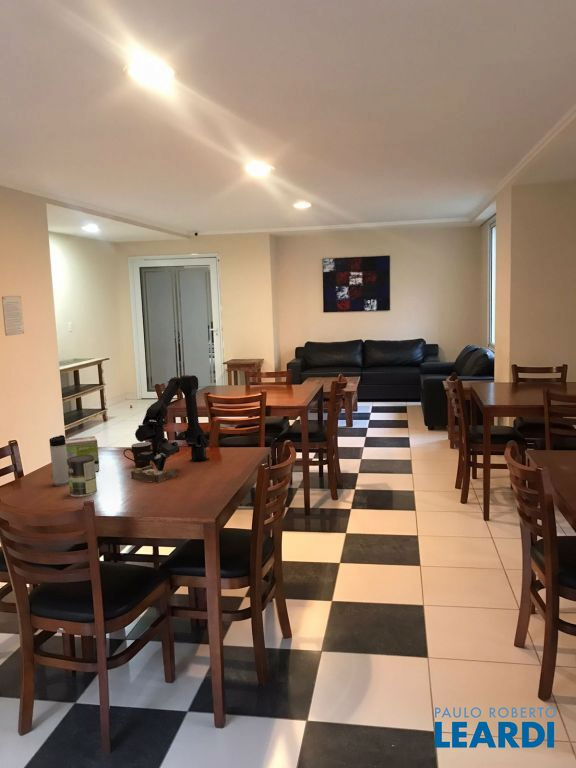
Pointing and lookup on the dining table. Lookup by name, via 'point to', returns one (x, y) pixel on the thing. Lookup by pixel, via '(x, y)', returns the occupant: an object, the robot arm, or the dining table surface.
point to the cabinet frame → (152, 474)
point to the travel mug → (59, 460)
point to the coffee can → (82, 475)
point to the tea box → (83, 448)
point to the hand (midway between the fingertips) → (160, 472)
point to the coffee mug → (138, 449)
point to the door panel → (154, 471)
